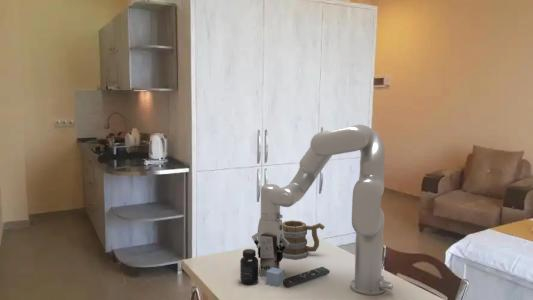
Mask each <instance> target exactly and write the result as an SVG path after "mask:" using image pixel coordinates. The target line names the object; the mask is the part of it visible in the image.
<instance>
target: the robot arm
mask: <svg viewBox="0 0 533 300" xmlns="http://www.w3.org/2000/svg"><path fill="white" fill-rule="evenodd" d="M358 151H359V152H360V160H359V177H358V180H357V181H356V183H354V186H353V189H352V199H351V201H352V204H351V225H352V228H353V231H354V232H355V250H354V251H355V253H354V256H355V257H354V258H355V259H354V279H352V280H351V281H350V283H349V286H350V289H351V290H352V291H354V292H356V293H358V294H360V295H367V296H376V295H382V294H383V293H384V292H385V291H386V290H390V291H393V288H394V285H393V284H392V282H391V281H388V280H385V279H384V278H385V277H384V276H383V275H382V274H383V273H382V271H383V270H382V269H383V268H382V267H383V246H384V244H383V243H384V242H383V241H384V230H385V212H384V211H383V210H384V209H382V207H381V206H382V196H383V194H384V191H385V162H386V160H385V155H386V154H385V152H386V151H385V144H384V142H383V140H382V138H381V136H380V134H378V132H377V131H376V130H374V129H373V128H371V127H370V126H367V125H364V124H356V125H352V126H348V127H343V128H339V129H335V130H323V131H320V132H319V131H318V132H317V133H315V135H313V137H311V140H310V147H308V149H307V151H306V152H305V153H304V155H303V156H302V158H301V159H300V160H299V168H298V171H297V172H296V174H295V176H294V177H293V178H292V179H291V181H290V182H289V184H287V185H286V186H284V187H280V186H279V185H277V184H270V183H269V184H263V185H261V188H260V218H259V220H258V225H257V233H255V234H253V235H252V236H251V239H252V240H253V243H254V244H255V246H256V248H257V256H258V257H257V259H260V236H261V235H262V234H265V235H273V236H276V237H277V239H276V245H277V250H278V252H277V262H279V263H280V262H281V261H282V260H283V259H284V258H283V250H284V249H286V248H287V246H288V245H289V242H288V241H287V240H286V239H285V238H284V230H283V221H282V219H283V217H284V216H283V214H281V207H283V208H289V207H292V206H294V205H295V204H297V202H299V201H301V200H302V198H303V197H304V196H305V195H306V193H307V192H308V191H309V189H310V188H311V187H312V185H313V184H314V182H315V180H316V179H317V178H318V177H319V176H318V175H319V174H320V173H321V171H322V170H323V168H324V167H326V165H327V163H328V162H329V161H330V159H331V158H332V156H335V155H341V154H347V153H352V152H358ZM282 243H284V245H283V246H282Z"/></svg>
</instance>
